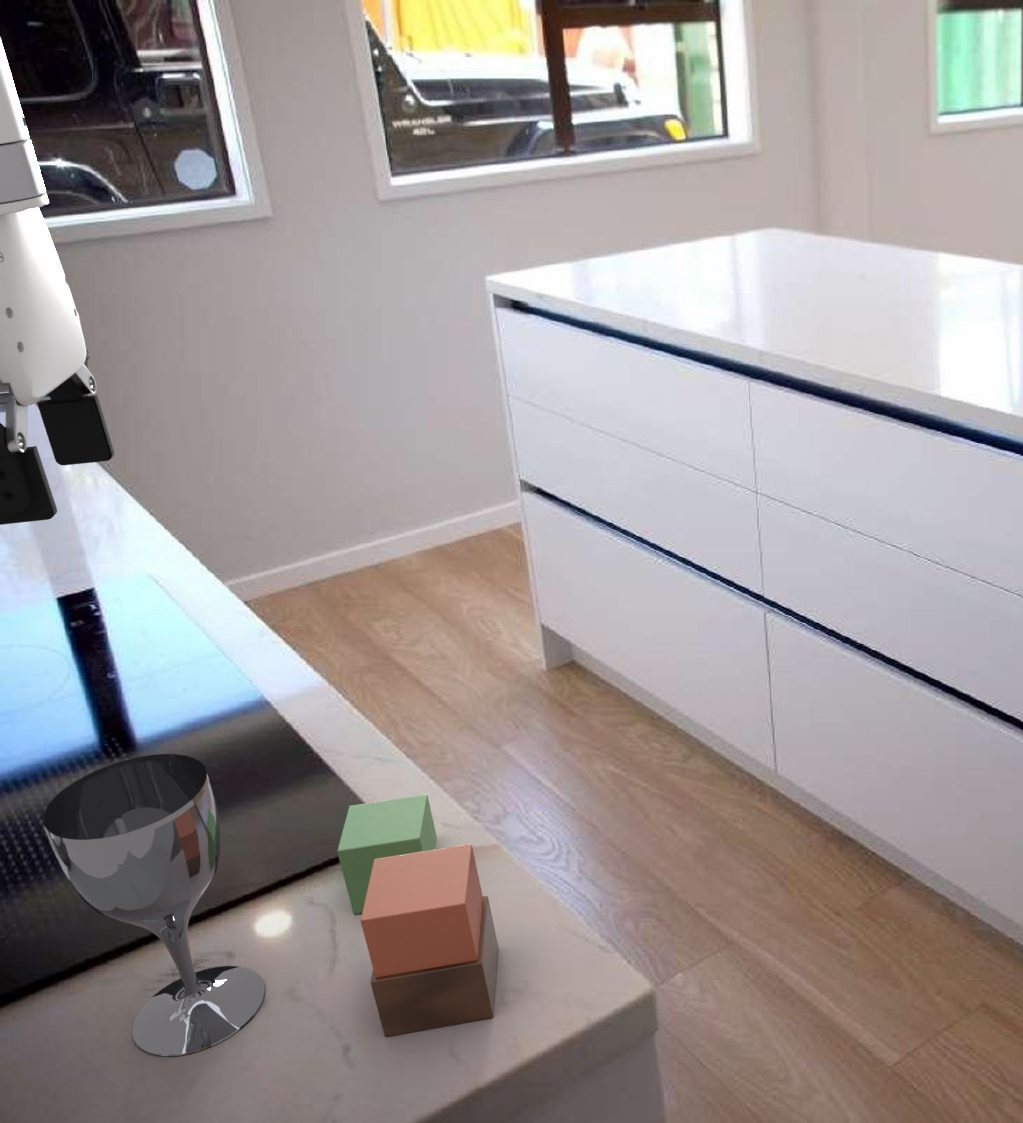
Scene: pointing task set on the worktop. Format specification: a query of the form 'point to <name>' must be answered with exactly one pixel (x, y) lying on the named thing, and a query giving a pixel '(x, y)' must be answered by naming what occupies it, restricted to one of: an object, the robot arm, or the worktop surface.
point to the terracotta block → (423, 910)
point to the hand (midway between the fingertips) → (58, 489)
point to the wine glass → (155, 885)
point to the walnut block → (441, 989)
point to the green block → (382, 839)
